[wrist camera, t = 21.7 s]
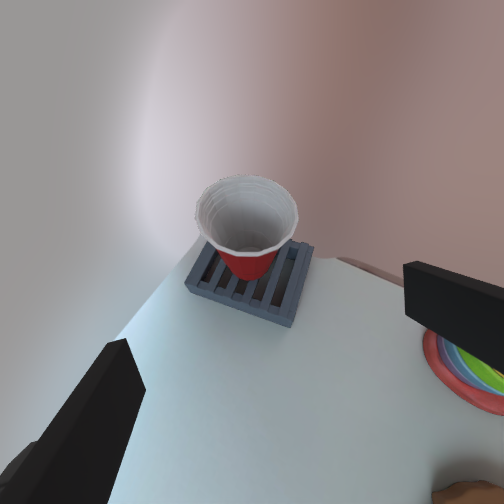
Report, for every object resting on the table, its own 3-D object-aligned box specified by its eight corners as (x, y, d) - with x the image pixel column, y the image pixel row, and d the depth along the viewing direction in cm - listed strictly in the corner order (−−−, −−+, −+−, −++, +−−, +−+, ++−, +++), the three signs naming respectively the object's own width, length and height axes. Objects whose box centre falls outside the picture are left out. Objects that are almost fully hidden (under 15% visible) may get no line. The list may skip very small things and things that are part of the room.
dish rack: (190, 292, 37) (183, 281, 34) (221, 232, 43) (218, 218, 40) (290, 328, 34) (293, 320, 31) (310, 258, 40) (314, 245, 36)
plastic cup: (284, 305, 32) (295, 261, 21) (205, 292, 33) (179, 245, 23) (292, 237, 37) (304, 177, 27) (224, 228, 38) (210, 167, 28)
